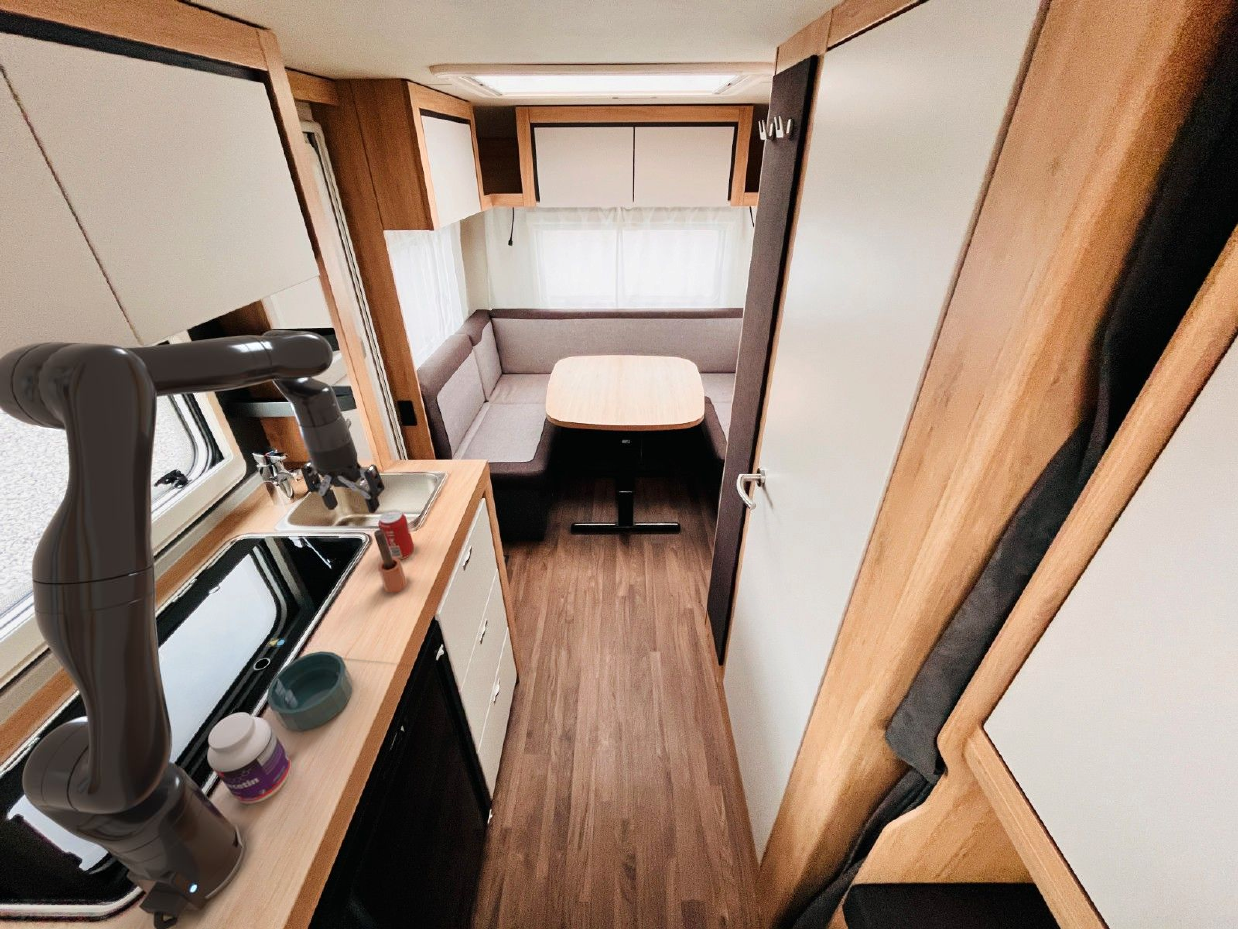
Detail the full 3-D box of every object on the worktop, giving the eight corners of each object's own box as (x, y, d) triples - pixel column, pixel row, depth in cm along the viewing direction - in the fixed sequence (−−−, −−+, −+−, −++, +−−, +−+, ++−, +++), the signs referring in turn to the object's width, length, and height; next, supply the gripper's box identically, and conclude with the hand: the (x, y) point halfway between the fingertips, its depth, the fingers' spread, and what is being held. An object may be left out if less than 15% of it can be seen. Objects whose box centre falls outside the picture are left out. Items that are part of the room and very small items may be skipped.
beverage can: (420, 547, 130) (409, 510, 124) (405, 563, 125) (394, 526, 119) (398, 543, 132) (387, 506, 125) (383, 559, 126) (371, 522, 120)
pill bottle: (224, 804, 80) (182, 755, 72) (258, 752, 86) (223, 702, 79) (273, 808, 79) (236, 759, 72) (304, 756, 86) (273, 706, 78)
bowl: (329, 736, 89) (319, 717, 86) (263, 729, 90) (249, 709, 87) (366, 674, 99) (358, 654, 96) (306, 668, 100) (296, 648, 97)
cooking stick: (398, 588, 118) (380, 535, 109) (389, 588, 118) (372, 535, 109) (402, 582, 119) (385, 529, 111) (393, 581, 120) (376, 529, 111)
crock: (401, 595, 117) (394, 573, 113) (381, 593, 117) (373, 571, 113) (410, 580, 121) (404, 558, 117) (391, 578, 121) (384, 556, 117)
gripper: (277, 448, 89) (309, 518, 98) (354, 452, 88) (378, 524, 97) (303, 427, 96) (331, 495, 105) (375, 431, 94) (397, 499, 103)
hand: (354, 509), depth 101 cm, fingers open, 8 cm apart
